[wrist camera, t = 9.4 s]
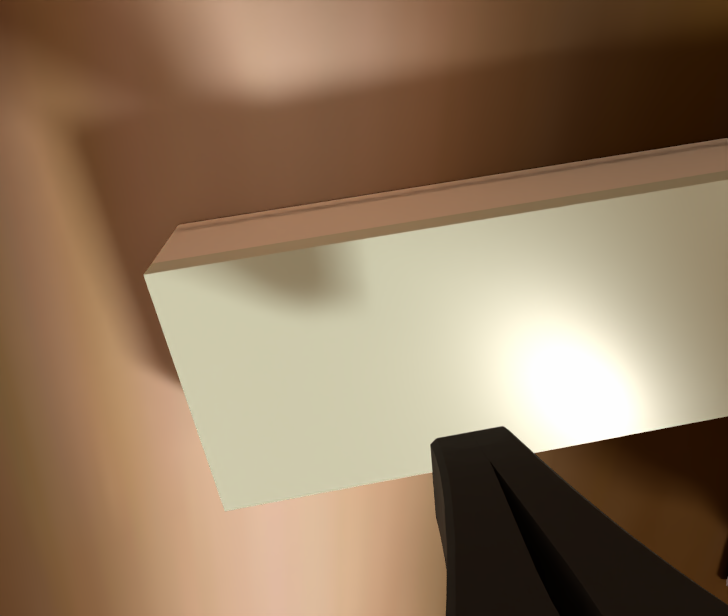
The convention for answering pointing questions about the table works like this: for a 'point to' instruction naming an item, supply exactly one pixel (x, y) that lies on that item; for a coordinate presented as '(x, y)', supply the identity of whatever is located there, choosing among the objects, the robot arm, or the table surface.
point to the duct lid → (451, 335)
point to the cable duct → (443, 199)
